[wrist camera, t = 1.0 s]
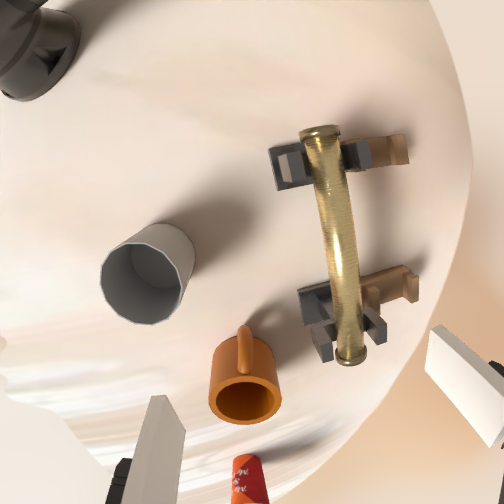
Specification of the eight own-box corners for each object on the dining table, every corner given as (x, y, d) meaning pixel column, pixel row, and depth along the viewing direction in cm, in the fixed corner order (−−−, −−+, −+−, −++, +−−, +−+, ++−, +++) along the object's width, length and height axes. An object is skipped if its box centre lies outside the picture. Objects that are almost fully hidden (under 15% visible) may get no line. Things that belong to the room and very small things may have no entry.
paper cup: (232, 449, 45) (234, 508, 32) (270, 453, 46) (279, 509, 33) (224, 467, 47) (225, 520, 34) (259, 470, 48) (265, 522, 35)
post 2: (295, 290, 37) (319, 334, 26) (348, 276, 37) (387, 313, 26) (301, 322, 38) (323, 372, 27) (351, 308, 38) (386, 351, 28)
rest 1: (332, 144, 32) (347, 140, 28) (386, 137, 32) (405, 133, 28) (338, 172, 33) (353, 172, 29) (391, 163, 33) (411, 163, 29)
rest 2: (353, 279, 37) (368, 293, 32) (402, 264, 37) (420, 276, 32) (355, 302, 38) (370, 318, 33) (402, 287, 38) (420, 300, 33)
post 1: (266, 149, 32) (282, 137, 21) (325, 139, 32) (364, 126, 21) (275, 190, 33) (295, 198, 23) (333, 179, 33) (375, 182, 23)
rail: (294, 133, 25) (304, 127, 21) (330, 128, 25) (344, 122, 21) (331, 352, 31) (341, 370, 28) (359, 343, 31) (371, 360, 28)
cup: (195, 223, 34) (181, 243, 24) (196, 288, 36) (185, 327, 26) (129, 223, 33) (94, 242, 24) (134, 285, 35) (105, 321, 26)
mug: (287, 321, 38) (301, 359, 29) (264, 385, 41) (271, 428, 32) (222, 309, 37) (220, 347, 28) (207, 377, 40) (203, 420, 31)
